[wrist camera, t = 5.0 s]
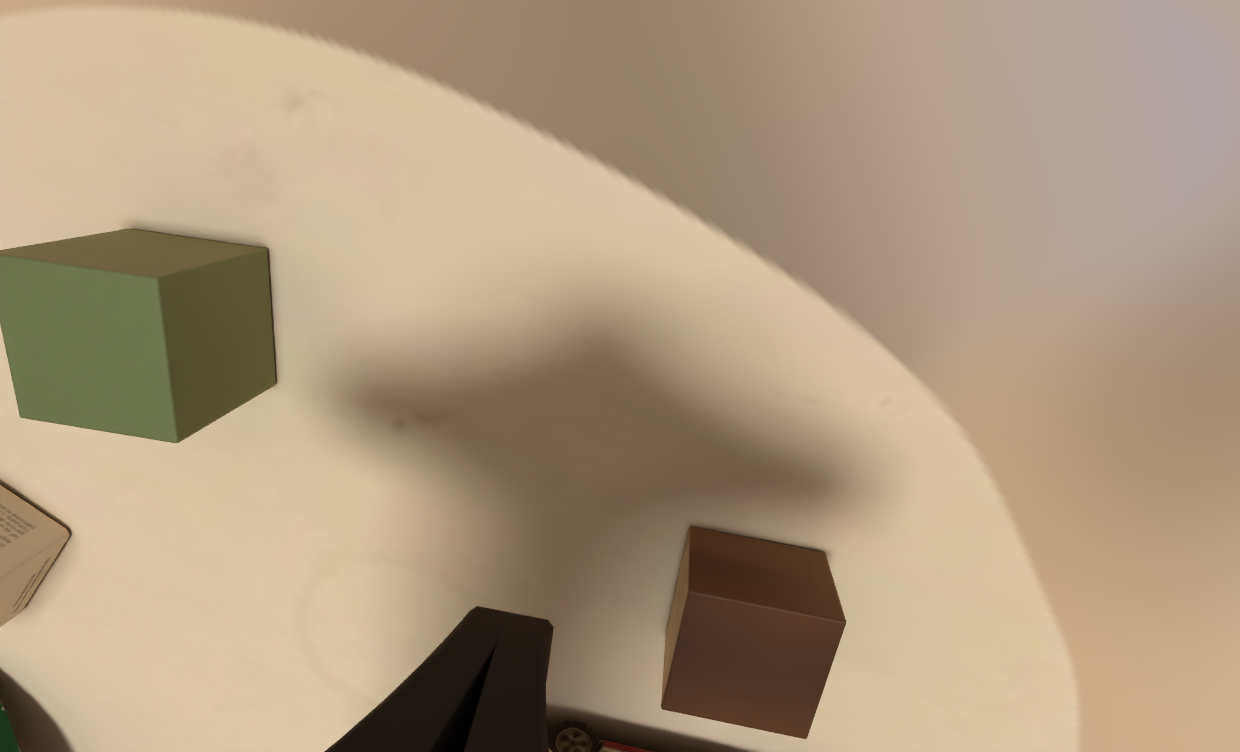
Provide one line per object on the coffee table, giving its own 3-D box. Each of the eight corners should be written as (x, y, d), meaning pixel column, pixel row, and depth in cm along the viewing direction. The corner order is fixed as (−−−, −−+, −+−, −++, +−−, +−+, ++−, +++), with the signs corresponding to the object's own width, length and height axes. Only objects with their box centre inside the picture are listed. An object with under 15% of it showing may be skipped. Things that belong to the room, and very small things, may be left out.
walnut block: (792, 658, 21) (807, 740, 18) (665, 633, 21) (660, 709, 18) (826, 551, 19) (847, 622, 17) (689, 525, 20) (688, 590, 17)
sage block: (276, 384, 20) (177, 444, 16) (147, 364, 20) (18, 418, 16) (268, 248, 18) (156, 277, 14) (128, 227, 18) (-17, 251, 15)
